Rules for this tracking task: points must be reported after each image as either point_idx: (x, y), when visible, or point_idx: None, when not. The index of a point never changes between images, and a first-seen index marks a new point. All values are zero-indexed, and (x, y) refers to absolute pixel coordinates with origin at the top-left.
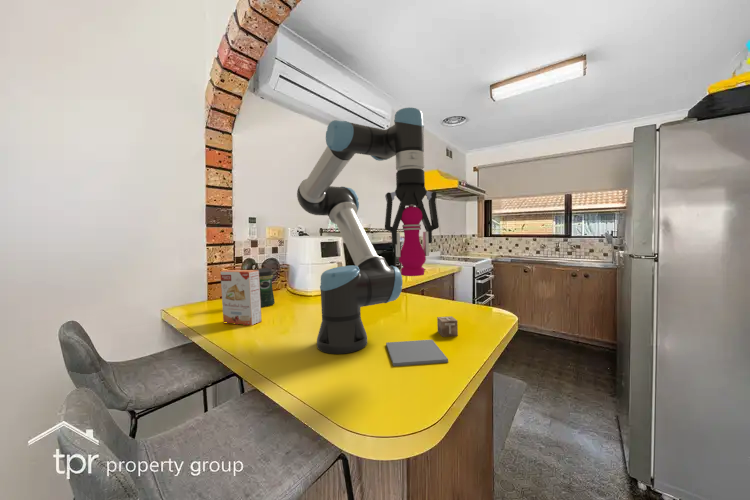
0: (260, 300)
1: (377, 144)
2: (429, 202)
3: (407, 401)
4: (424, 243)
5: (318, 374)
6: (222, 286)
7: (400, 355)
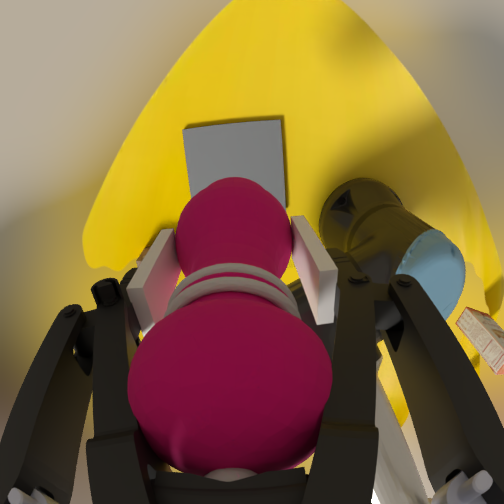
0: (471, 342)
1: None
2: (55, 481)
3: (268, 25)
4: (166, 276)
5: (390, 114)
6: None
7: (264, 149)
